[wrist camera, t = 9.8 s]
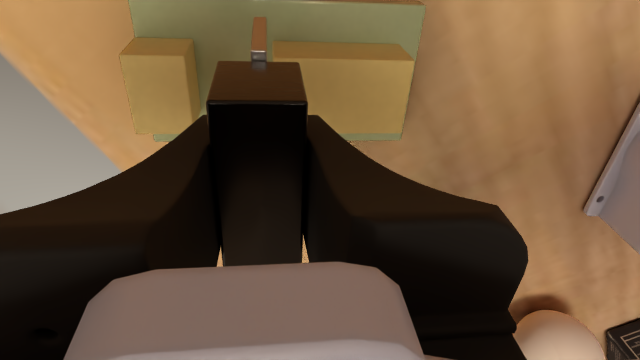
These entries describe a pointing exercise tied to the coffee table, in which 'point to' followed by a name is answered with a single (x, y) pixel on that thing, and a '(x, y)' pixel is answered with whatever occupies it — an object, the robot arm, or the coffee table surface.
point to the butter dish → (276, 31)
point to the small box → (624, 342)
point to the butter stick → (353, 83)
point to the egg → (556, 338)
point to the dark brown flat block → (259, 156)
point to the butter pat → (161, 84)
